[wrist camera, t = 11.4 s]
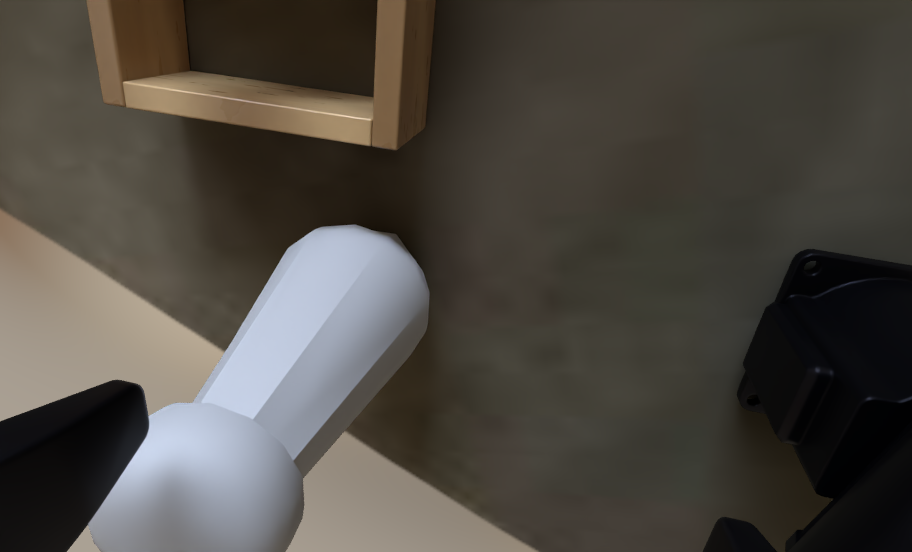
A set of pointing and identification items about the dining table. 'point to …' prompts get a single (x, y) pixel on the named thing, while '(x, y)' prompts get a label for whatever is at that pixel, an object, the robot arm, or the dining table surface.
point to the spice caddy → (259, 102)
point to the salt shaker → (272, 401)
